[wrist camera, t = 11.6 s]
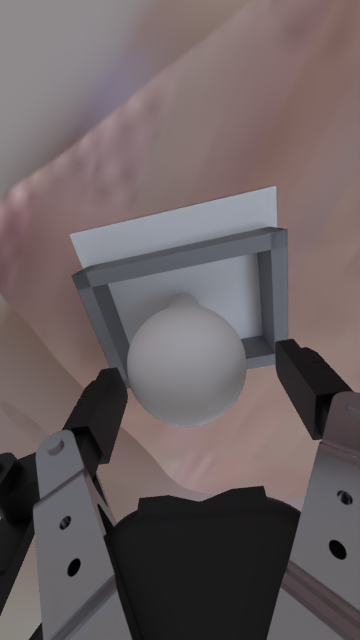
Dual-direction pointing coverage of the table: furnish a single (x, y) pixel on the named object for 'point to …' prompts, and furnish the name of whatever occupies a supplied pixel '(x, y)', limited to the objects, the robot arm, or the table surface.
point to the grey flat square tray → (189, 272)
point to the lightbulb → (186, 364)
